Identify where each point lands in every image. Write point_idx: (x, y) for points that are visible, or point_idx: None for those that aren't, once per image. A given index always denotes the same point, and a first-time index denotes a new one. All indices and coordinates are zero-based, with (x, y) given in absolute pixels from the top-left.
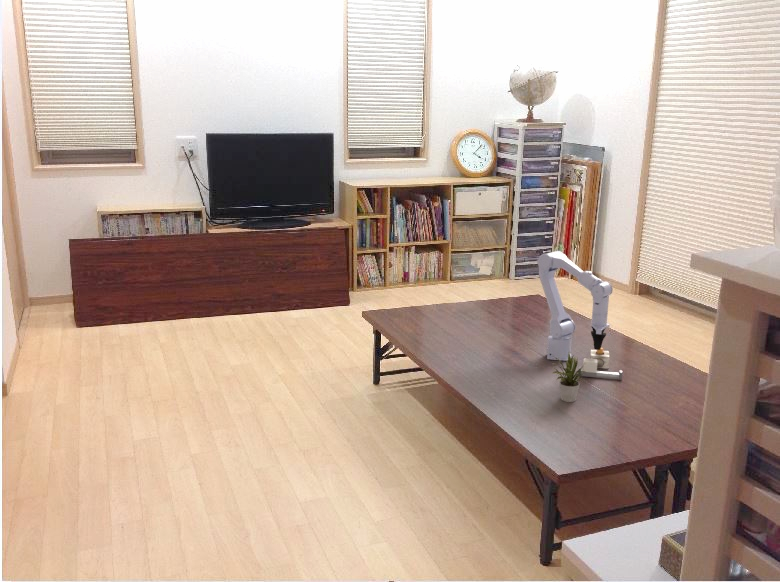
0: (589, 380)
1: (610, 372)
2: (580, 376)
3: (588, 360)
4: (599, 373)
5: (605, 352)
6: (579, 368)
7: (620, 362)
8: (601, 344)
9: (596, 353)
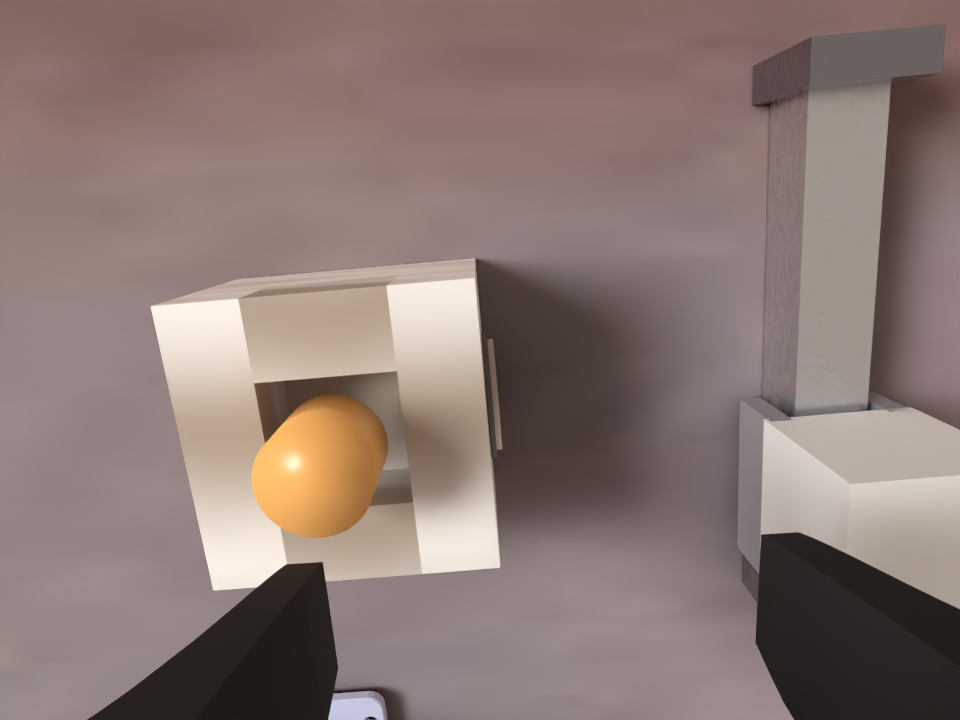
0: None
1: (827, 221)
2: None
3: None
4: (863, 366)
5: (262, 358)
6: None
7: (153, 105)
8: (936, 600)
9: None
